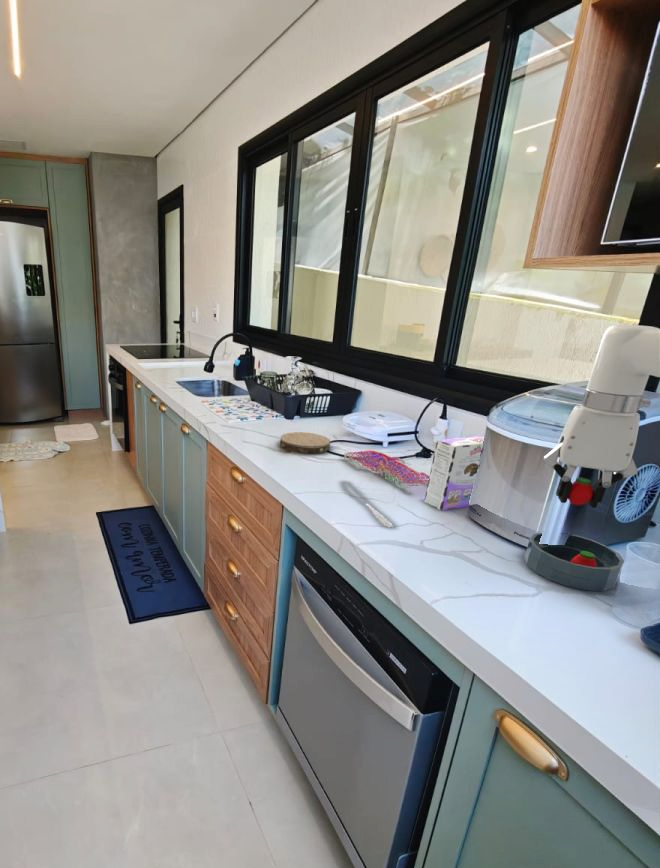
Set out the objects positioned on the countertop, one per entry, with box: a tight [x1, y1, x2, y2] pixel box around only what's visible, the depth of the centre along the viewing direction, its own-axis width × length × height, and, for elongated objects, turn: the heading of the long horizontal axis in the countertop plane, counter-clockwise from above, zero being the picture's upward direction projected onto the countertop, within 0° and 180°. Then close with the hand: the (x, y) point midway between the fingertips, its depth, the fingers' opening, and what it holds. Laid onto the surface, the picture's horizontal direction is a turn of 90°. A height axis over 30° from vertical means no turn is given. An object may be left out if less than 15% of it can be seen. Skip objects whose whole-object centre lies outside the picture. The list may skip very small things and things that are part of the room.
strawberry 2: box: [571, 551, 597, 567], centre depth 92 cm, size 4×4×4 cm
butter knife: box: [365, 502, 394, 529], centre depth 122 cm, size 1×27×3 cm
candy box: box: [424, 435, 485, 511], centre depth 120 cm, size 14×6×16 cm, turn 111°
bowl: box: [523, 532, 625, 592], centre depth 94 cm, size 14×14×5 cm
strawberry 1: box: [567, 477, 594, 506], centre depth 90 cm, size 4×4×4 cm
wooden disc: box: [279, 431, 331, 455], centre depth 163 cm, size 16×16×3 cm
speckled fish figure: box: [343, 450, 430, 493], centre depth 140 cm, size 30×15×5 cm, turn 13°
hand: (576, 501), depth 91 cm, fingers closed on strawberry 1, 3 cm apart
